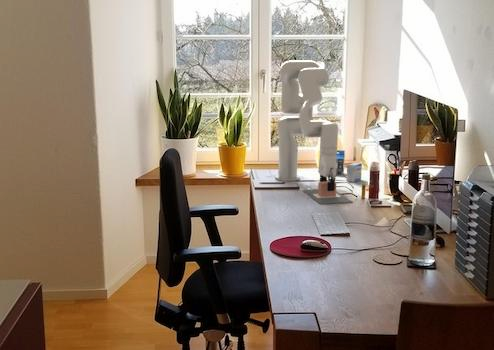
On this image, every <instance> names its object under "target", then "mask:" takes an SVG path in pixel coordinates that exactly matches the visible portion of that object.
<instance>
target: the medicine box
mask: <svg viewBox="0 0 494 350" xmlns="http://www.w3.org/2000/svg"><path fill="white" fill-rule="evenodd" d="M362 165H363V163H361V162H353V163H350V164H347V165H346V182H349V183H357V182H359V181H361V180H362V171H363V170H362V167H363V166H362Z"/></svg>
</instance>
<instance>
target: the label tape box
mask: <svg viewBox="0 0 494 350" xmlns="http://www.w3.org/2000/svg"><path fill="white" fill-rule="evenodd" d="M345 152H346V151H345V150H338V149H337V155H336V175H344V173H345V157H346V155H345Z"/></svg>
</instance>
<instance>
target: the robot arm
mask: <svg viewBox="0 0 494 350" xmlns="http://www.w3.org/2000/svg"><path fill="white" fill-rule="evenodd" d="M279 75H280V81H281V102H280V103H281V105H280V107H281V111H282V113H283V114H285V115H298V116H283V117H281V118H279V120H278V121H277V124H276V125H277V134H278V165H277V166H278V167H277V168H278V174H276V175H275V176H274V178H275V179H276V180H277V181H282V182H295V181H299V180H300V179H301V176H300V175H298V150H299V149H298V148H299V147H298V141H297V139H296V138H295V137H294V136H304V137H305V138H309V139H310V138H320V140H319V141H320V143H319V158H318V160H319V161H318V174H319V182H323V181H328V185H327V191H334V190H335V182H336V176H337V174H336V155H337V154H338V152H337V150H338V136H339V125H338V124H337V123H336V122H331V121H330V120H327V119H325V120H323V119H322V120H321V119H320V120H317V119H316V120H313V112H314V106H316V105H318V104H320V102H322V100H323V94H322V91H321V87H326V86H327V85H329V81H330V76H329V73H328V71H327V69H326V68H325V67H324V66H322V65H321V64H319V63H318V62H316V61H315V60H288V61H285V62H283V63H282V64H281V66H280V70H279ZM297 79H298V80H297ZM300 90H301V93H302V94H300Z"/></svg>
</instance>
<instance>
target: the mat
mask: <svg viewBox="0 0 494 350" xmlns="http://www.w3.org/2000/svg"><path fill="white" fill-rule="evenodd" d="M302 193H304V194H306V195H307V196H308V197H309V198H310V199H312V200H313V201H314V202H316V203H317V204H318V205H333V204H334V205H336V204H338V205H339V204H353V203H354V202H353V200H351V199H349V198H348V197H346V195H343V194H342V193H340V192H339V191H337V190H336V196H328V197H321V196H319V195H318V188H315V189H302Z"/></svg>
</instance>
